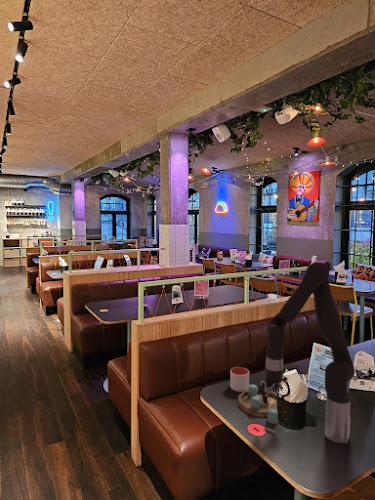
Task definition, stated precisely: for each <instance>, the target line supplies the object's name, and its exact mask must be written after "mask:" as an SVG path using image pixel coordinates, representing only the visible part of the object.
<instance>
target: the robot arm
mask: <svg viewBox="0 0 375 500" xmlns="http://www.w3.org/2000/svg"><path fill="white" fill-rule="evenodd" d="M329 276H330V269H329V267H328V265H327V264H326V263H324V262H322V261H313V262H311V263H310V264H309V265H308V266H307V267H306V271H305V274H304V276H303V278H302V280H301V282H300V284H299V285H298V287H297V288H296V289H295V291H294V292H293V293H292V294H291V295H290V297H289V298H288V299H287V300H286V302H285V303H284V304H283V306H282V307H281V309H280V310H279V312H278V313H277V314H275V315H274V316H273V317H272V318H271V319H270V320H269V322H268V324H267V325H266V332H267V334H268V344H267V345H266V346H267V347H266V357H265V358H266V359H265V369H264V371H265V372H264V373H265V375H264V376H265V380H259V383H258V389H259V394H261V395H262V401H263V402H264V403H265V404H267V398H268V396H267V395H268V393H269V392H271V391H273V390H277V389H278V391H277V393H278V392H279V388H280V389H281V391H282V389H283V387H282V381H283V382H286V380H287V381H288V377H287V376H285V374H283V373H284V358H283V357H284V346H285V343H286V331H285V328H286V326H288V324H292V323H293V322H294V321H295V319H296V318H297V317H298V315H299V314H300V312H301V311H302V309H303V308H304V306H305V305H306V303H307V301H308V300H309V299H310V297H312V295H313V302H314V311H315V317H316V321H317V326H318V329H319V331H320V333H321V335H322V337H323V338H324V339H325V341H326V342H327V344H328V345H329V347H330V348H329V349H330V352H331V357H332V361H331V362H330V363H328V364H327V365H326V367H325V371H324V389H325V393H326V399H325V401H326V402H325V403H326V404H325V419H324V422H325V423H324V424H325V425H324V435H325V437H326V438H327V440H329V441H331V442H333V443H337V444H345V445H347V444H348V442H349V439H350V433H351V414H350V413H351V398H352V397H351V392H350V391H348V382H349V381H351V380H352V379H353V378H355V375H356V374H355V367H354V363H353V360H352V357H351V354H350V352H349V349H348V346H347V341H346V337H345V334H344V329H343V325H342V320H341V316H340V312H339V309H338V306H337V304H336V301H335V300H334V297H333V295H332V291H331V287H330V279H329V278H330V277H329ZM266 390H267V391H266ZM265 392H266V393H265Z"/></svg>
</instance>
